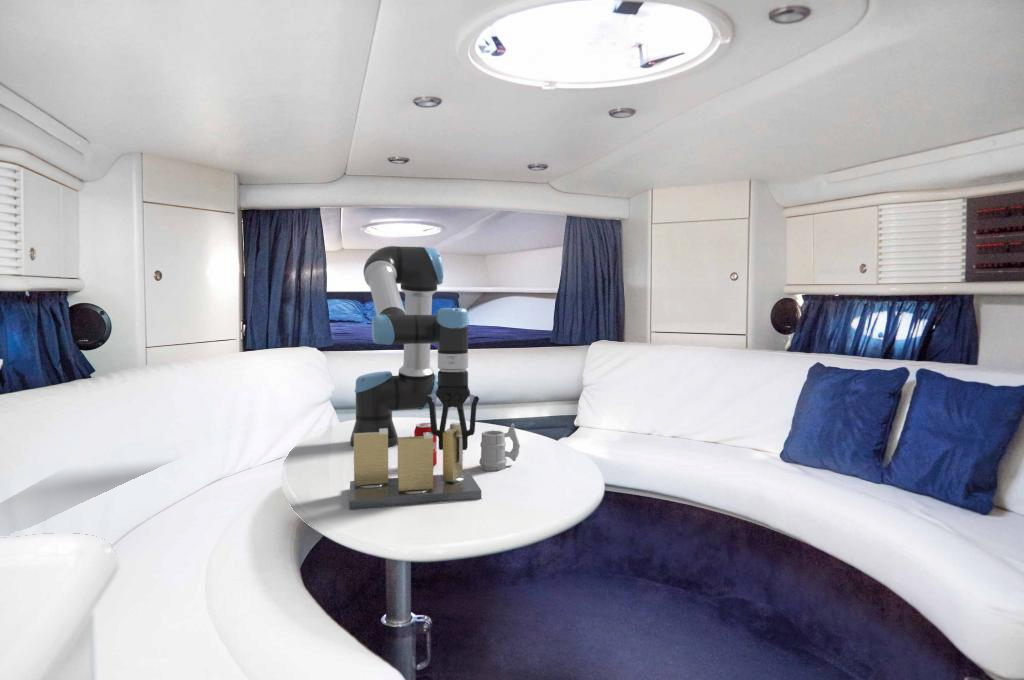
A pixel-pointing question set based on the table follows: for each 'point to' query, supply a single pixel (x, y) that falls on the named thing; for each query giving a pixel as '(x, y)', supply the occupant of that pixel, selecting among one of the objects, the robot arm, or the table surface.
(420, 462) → the tan grey-ended block
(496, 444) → the mug
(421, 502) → the plate
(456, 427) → the tan upright panel
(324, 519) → the table surface
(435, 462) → the beverage can
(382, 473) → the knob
